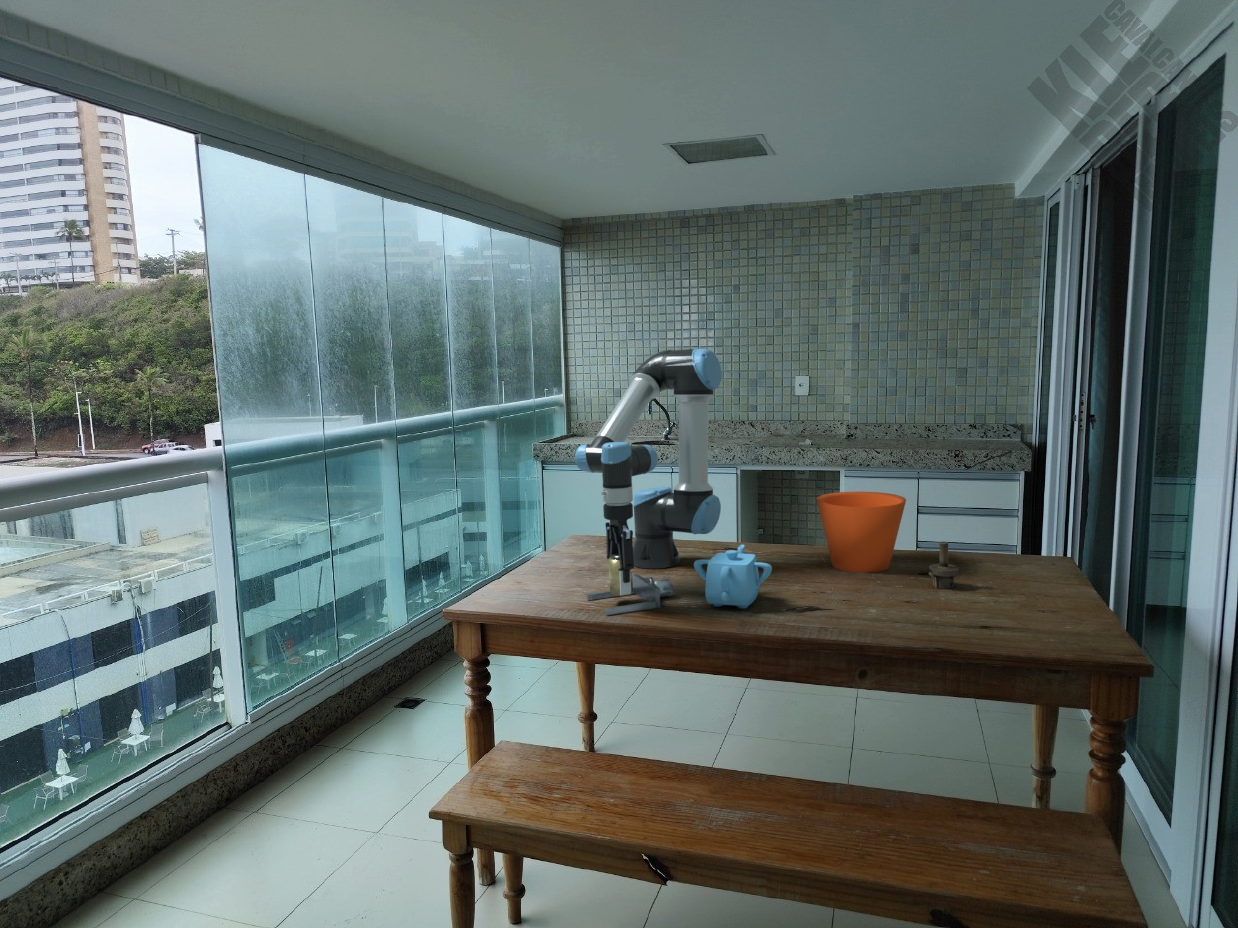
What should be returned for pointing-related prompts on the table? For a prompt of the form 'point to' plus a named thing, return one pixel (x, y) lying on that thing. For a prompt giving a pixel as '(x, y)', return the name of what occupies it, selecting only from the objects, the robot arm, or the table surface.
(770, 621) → the table surface
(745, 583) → the light blue boxy pot
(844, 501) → the flowerpot
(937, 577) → the industrial component
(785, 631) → the table surface
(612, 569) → the yellow jar
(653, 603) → the flange cradle
